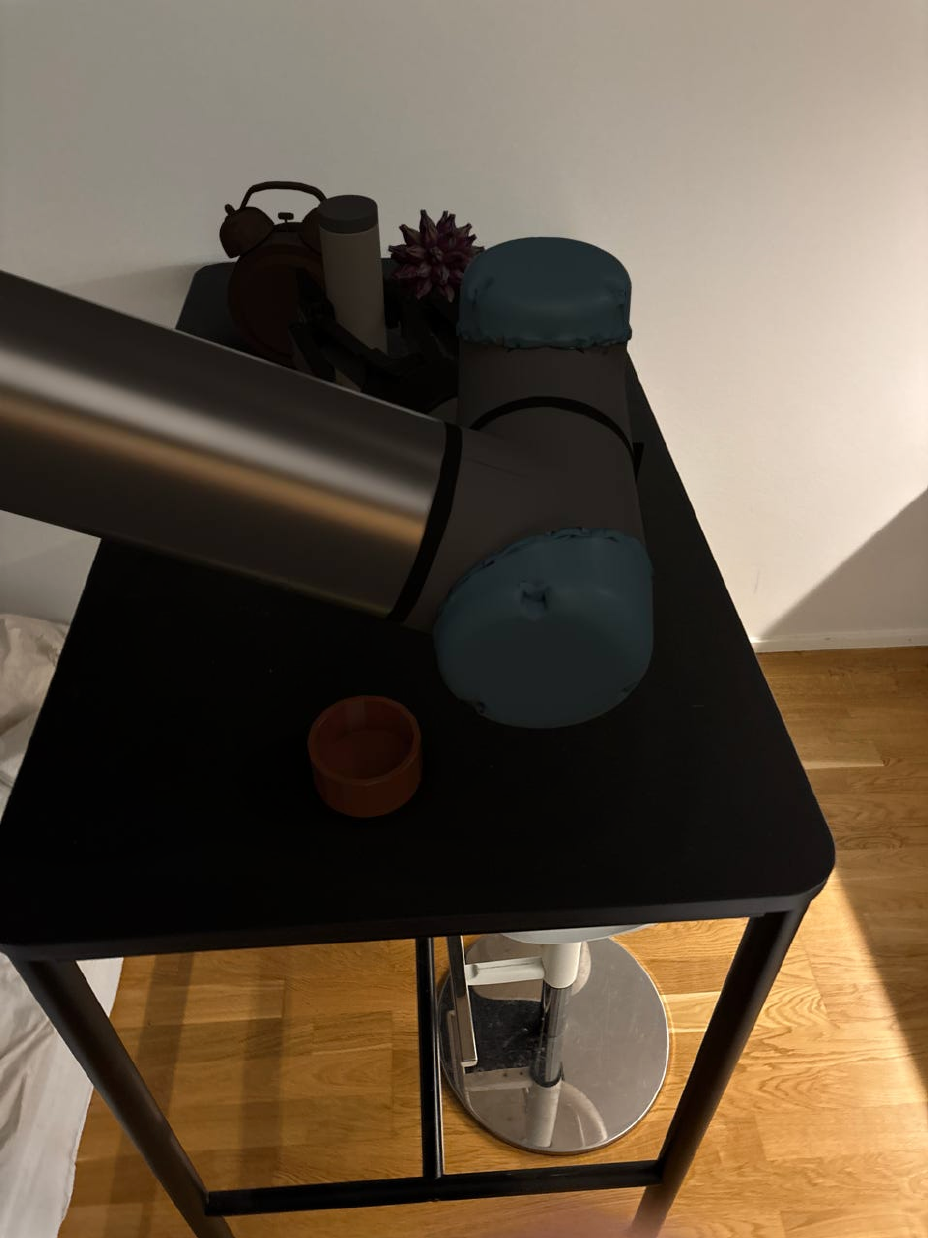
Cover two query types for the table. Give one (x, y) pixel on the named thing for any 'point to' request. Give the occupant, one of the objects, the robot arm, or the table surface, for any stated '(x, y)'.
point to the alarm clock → (270, 269)
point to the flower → (434, 256)
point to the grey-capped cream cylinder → (353, 269)
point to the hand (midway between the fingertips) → (332, 279)
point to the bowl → (366, 755)
